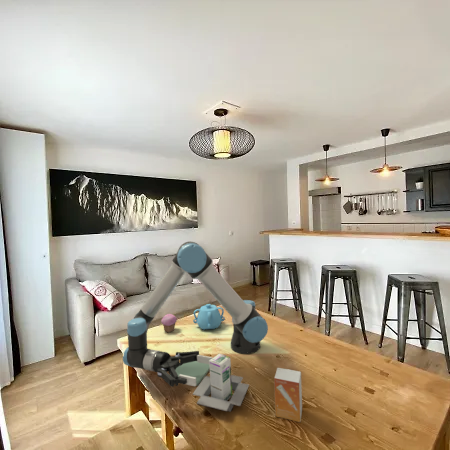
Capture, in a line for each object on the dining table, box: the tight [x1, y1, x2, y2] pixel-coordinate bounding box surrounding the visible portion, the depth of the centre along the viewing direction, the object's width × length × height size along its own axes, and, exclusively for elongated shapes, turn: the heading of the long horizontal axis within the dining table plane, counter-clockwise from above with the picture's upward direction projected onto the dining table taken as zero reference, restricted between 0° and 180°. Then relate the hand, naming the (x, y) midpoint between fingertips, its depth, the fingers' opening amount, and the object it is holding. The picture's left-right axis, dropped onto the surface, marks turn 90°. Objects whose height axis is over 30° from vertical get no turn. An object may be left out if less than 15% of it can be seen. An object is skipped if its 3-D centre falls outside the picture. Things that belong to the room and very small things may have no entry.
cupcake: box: [160, 313, 178, 333], centre depth 150 cm, size 9×9×10 cm
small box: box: [273, 367, 303, 423], centre depth 83 cm, size 8×6×13 cm
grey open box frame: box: [192, 374, 250, 413], centre depth 92 cm, size 18×18×3 cm
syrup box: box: [209, 353, 234, 401], centre depth 92 cm, size 6×6×14 cm
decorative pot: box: [193, 303, 226, 331], centre depth 154 cm, size 16×16×14 cm
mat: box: [175, 361, 210, 387], centre depth 108 cm, size 14×14×1 cm
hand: (204, 370), depth 94 cm, fingers open, 13 cm apart
